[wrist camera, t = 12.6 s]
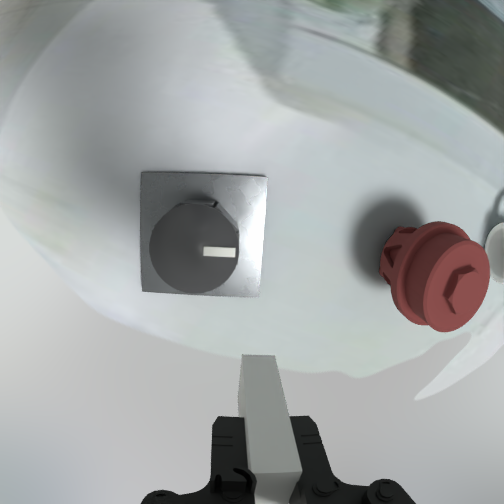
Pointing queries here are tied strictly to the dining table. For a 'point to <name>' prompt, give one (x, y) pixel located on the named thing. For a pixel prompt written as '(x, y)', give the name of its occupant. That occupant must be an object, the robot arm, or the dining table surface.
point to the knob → (195, 246)
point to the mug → (496, 252)
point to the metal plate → (221, 191)
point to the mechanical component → (435, 274)
